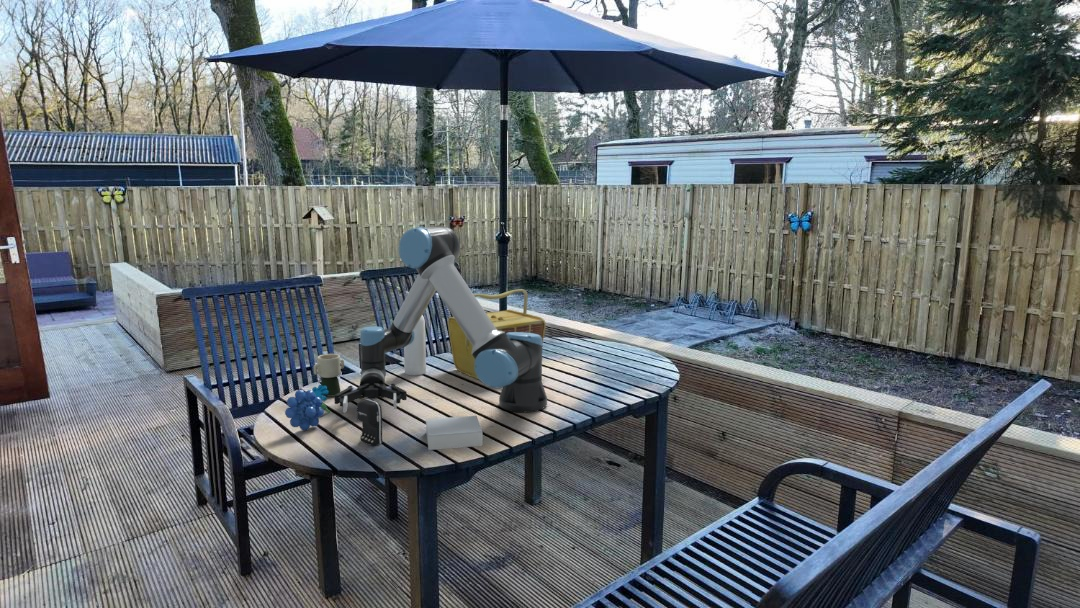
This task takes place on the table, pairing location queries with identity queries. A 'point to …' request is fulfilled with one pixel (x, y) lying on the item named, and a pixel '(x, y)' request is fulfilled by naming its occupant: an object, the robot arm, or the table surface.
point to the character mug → (329, 372)
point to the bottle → (416, 351)
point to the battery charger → (370, 421)
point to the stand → (453, 432)
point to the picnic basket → (502, 322)
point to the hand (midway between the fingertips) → (369, 406)
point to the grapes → (304, 409)
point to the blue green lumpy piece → (321, 395)
